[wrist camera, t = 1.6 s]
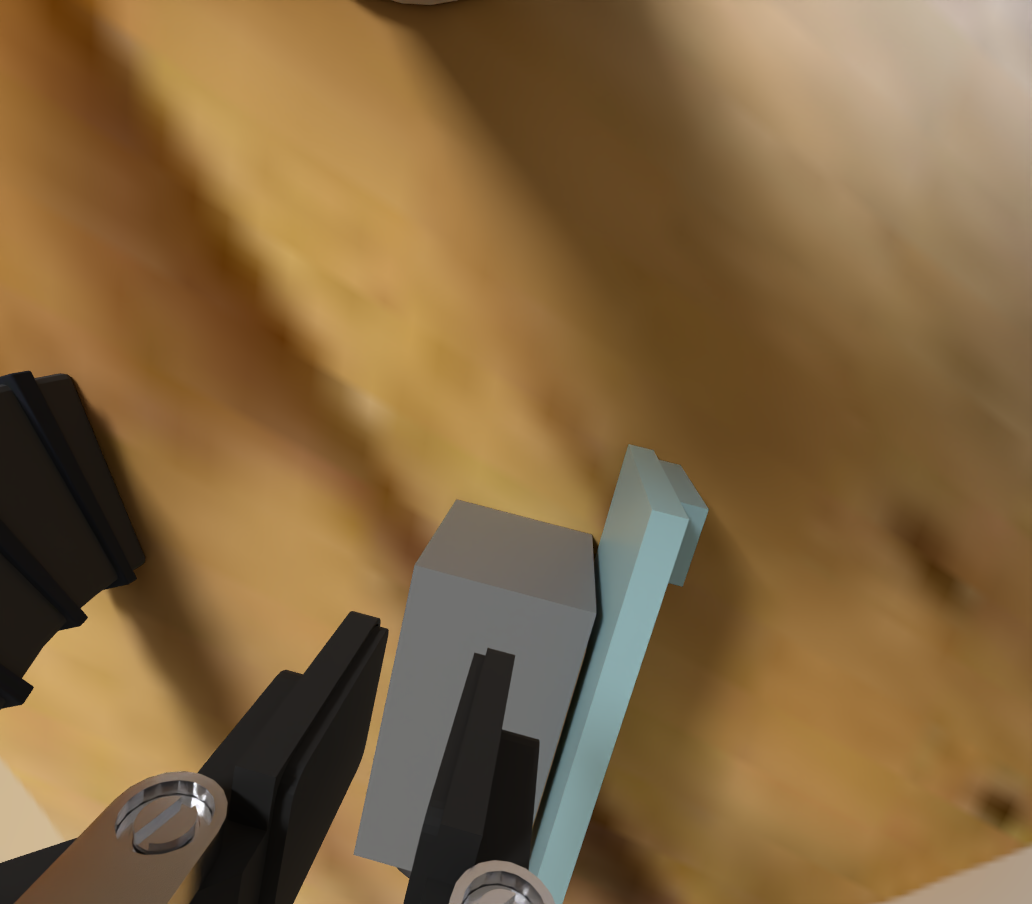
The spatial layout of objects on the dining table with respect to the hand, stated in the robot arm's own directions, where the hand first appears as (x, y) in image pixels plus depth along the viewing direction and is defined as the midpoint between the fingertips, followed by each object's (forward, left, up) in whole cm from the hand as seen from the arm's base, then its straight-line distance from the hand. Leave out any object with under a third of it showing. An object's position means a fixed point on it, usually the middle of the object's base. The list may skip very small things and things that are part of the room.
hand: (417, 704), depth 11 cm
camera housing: (+10, +1, -19) cm, 22 cm away
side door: (+8, +6, -19) cm, 21 cm away
